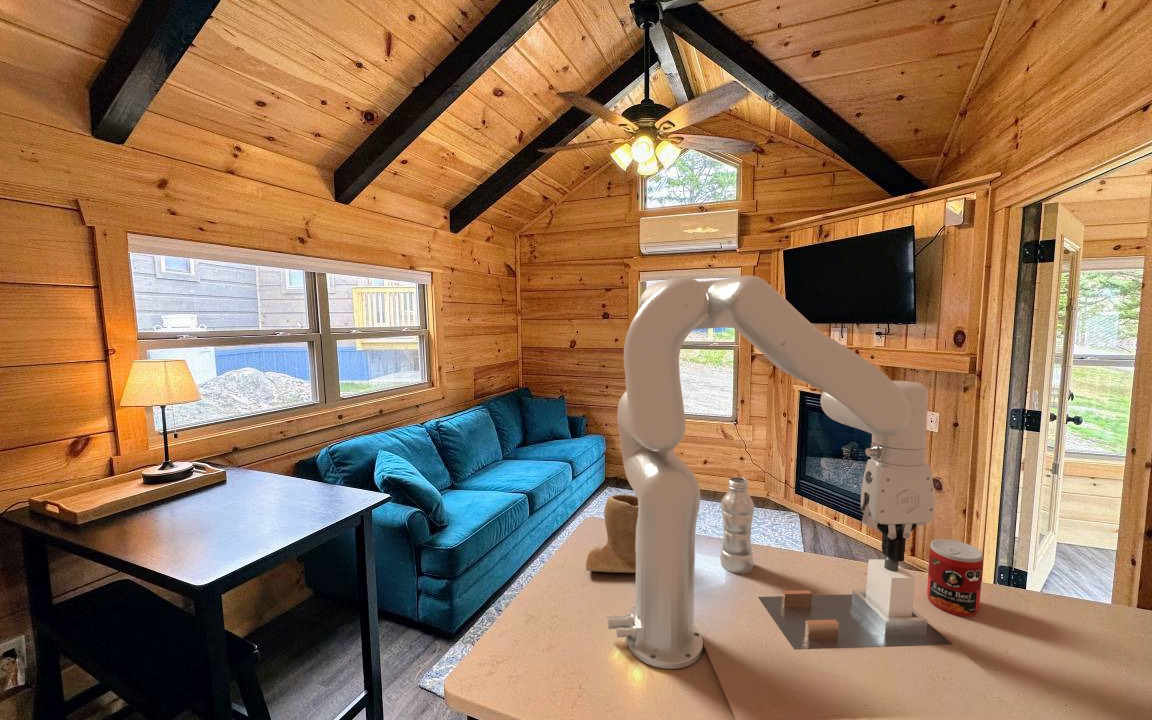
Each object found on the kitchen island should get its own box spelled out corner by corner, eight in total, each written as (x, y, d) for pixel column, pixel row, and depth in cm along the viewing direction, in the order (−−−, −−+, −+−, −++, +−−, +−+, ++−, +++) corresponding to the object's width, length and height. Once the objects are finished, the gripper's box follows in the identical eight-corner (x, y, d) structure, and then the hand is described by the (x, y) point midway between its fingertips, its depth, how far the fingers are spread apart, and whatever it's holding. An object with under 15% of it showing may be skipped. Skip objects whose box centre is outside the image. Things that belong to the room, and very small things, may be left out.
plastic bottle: (757, 580, 97) (760, 485, 95) (724, 580, 97) (727, 485, 95) (747, 563, 104) (749, 474, 102) (716, 563, 104) (717, 474, 102)
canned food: (923, 605, 88) (927, 549, 87) (929, 587, 94) (933, 534, 93) (977, 623, 83) (982, 564, 82) (980, 603, 89) (984, 547, 88)
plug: (887, 628, 80) (892, 566, 79) (864, 606, 86) (869, 548, 85) (910, 628, 80) (916, 566, 79) (886, 606, 86) (891, 548, 85)
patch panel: (793, 656, 76) (794, 634, 75) (757, 602, 89) (758, 584, 89) (952, 651, 76) (954, 629, 76) (892, 599, 90) (893, 580, 90)
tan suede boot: (653, 551, 109) (653, 488, 108) (659, 580, 97) (659, 510, 96) (587, 550, 110) (587, 487, 109) (585, 578, 98) (584, 509, 97)
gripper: (868, 462, 76) (864, 570, 78) (959, 459, 77) (952, 567, 78) (841, 449, 84) (837, 548, 85) (923, 446, 84) (918, 545, 86)
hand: (892, 557), depth 82 cm, fingers closed
